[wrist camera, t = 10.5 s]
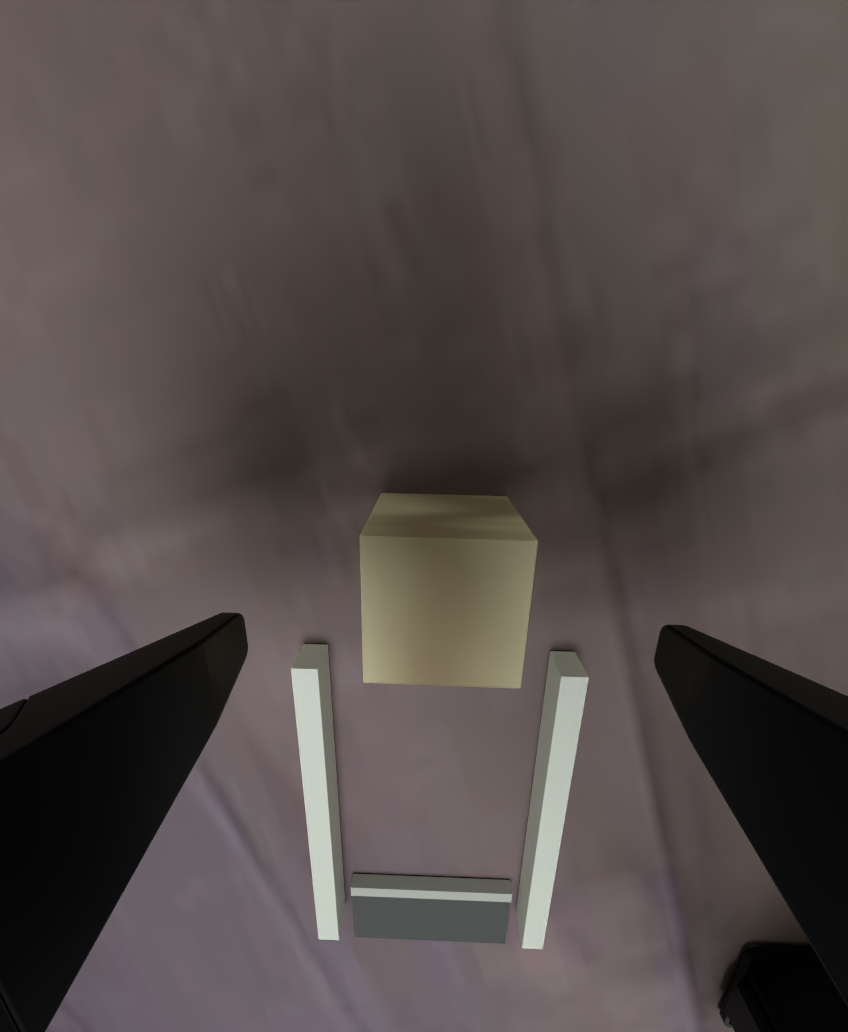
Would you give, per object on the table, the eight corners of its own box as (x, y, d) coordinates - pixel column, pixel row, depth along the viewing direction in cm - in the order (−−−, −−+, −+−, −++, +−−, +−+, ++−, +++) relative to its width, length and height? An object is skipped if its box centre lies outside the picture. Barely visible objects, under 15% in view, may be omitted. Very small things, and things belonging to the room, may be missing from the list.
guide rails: (575, 651, 16) (588, 677, 15) (535, 910, 21) (542, 949, 19) (303, 643, 16) (290, 668, 15) (326, 902, 21) (318, 939, 20)
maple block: (507, 495, 14) (537, 541, 10) (497, 606, 16) (520, 688, 11) (381, 492, 14) (359, 535, 10) (382, 602, 16) (363, 682, 11)
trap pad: (510, 880, 20) (512, 894, 20) (503, 933, 22) (505, 948, 21) (353, 873, 20) (350, 887, 20) (356, 927, 22) (354, 942, 21)
